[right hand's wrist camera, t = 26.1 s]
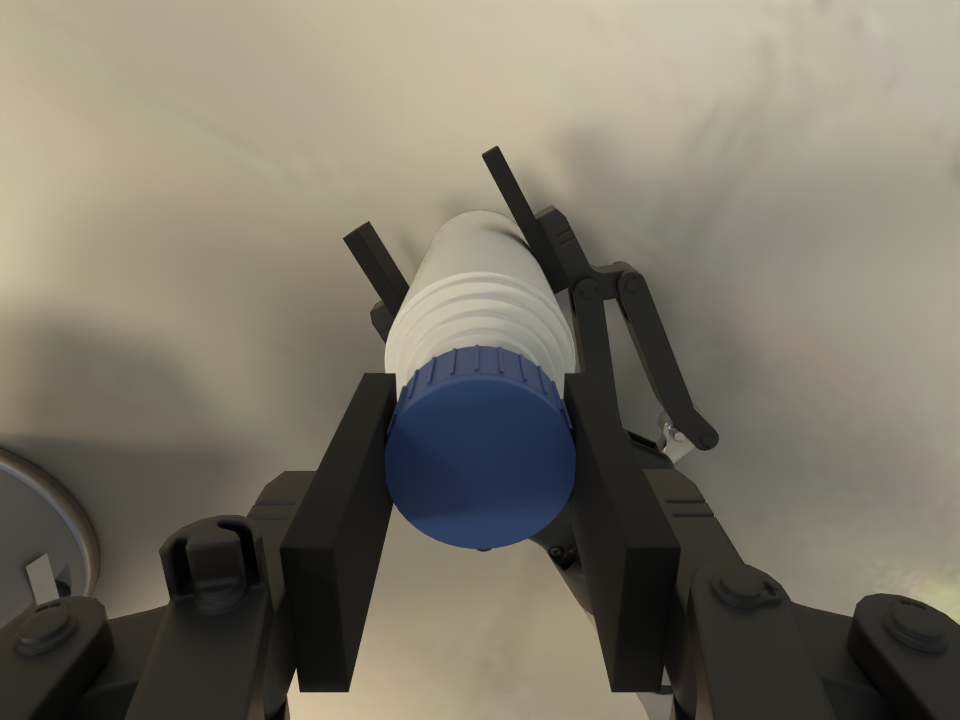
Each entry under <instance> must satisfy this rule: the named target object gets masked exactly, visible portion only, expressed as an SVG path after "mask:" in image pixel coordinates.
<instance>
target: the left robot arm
mask: <svg viewBox="0 0 960 720" xmlns="http://www.w3.org/2000/svg"><path fill="white" fill-rule="evenodd" d="M482 157H483V159H484V161H485V163H486V165H487V167H488V169H489V171H490V172H491V174H492V176H493V178H494V180H495V182H496V184H497V186H498V188H499V190H500V191H501V193H502V195H503V197H504V199H505V201H506V203H507V205H508V207H509V208H510V210H511V212H512V214H513V216H514V218H515V220H516V222H517V224H518V226H519V227H520V229H521V231H522V233H523V235H524V237H525V239H526V241H527V243H528V245H529V246H530V248H531V250H532V252H533V254H534V256H535V258H536V260H537V262H538V263H539V265H540V267H541V269H542V271H543V273H544V275H545V277H546V279H547V281H548V282H549V284H550V286H551V288H552V290H553V292H554V294H556V293H558V292H560V291H562V290H564V289H566V288H567V287H568V293H569V300H570V306H571V312H572V319H573V325H574V331H575V338H576V344H577V350H578V356H579V363H580V369H581V373H596V375H597V377H598V379H599V381H600V383H601V385H602V387H603V389H604V391H605V393H606V395H607V397H608V399H609V401H610V403H611V405H612V407H613V409H614V412H615V414H616V416H617V418H618V420H619V422H620V424H621V420H620V417H619V412H618V405H617V398H616V390H615V383H614V376H613V369H612V362H611V354H610V347H609V340H608V333H607V325H606V318H605V311H604V304H603V300H607V299H614V298H616V301H617V303H618V306H619V308H620V311H621V313H622V315H623V318H624V320H625V323H626V325H627V328H628V330H629V333H630V335H631V338H632V340H633V343H634V345H635V347H636V350H637V352H638V355H639V357H640V360H641V362H642V365H643V367H644V370H645V372H646V375H647V377H648V379H649V382H650V384H651V387H652V389H653V392H654V394H655V396H656V398H657V399H658V401H659V402H660V404H661V405H662V407H663V408H664V410H665V411H663V412H662V413H661V414H660V417H659V419H658V426H659V428H660V430H661V438H660V440H659V441H658V442H657V443H656V442H653V441H651V440H649V439H646V438H644V437H642V436H639V435H637V434H635V433H632V432H630V431H628V430H626V429H623V430H624V432H625V434H626V436H627V438H628V440H629V442H630V444H631V446H632V448H633V450H634V452H635V454H636V456H637V459H638V461H639V463H640V465H641V467H642V469H675V468H674V464H675V463H676V462H677V461H678V460H680V459H681V458H682V457H683V456H685V455H686V454H687V453H688V452H690V451H691V450H692V449H693V448H695V447H697V448H698V449H700V450H704V451H705V450H710V449H712V448H714V447H715V446H716V445H717V443H718V441H719V435H718V433H717V432H716V430H715V429H714V428H713V427H712V426H711V424H710V423H709V422H708V421H707V419H706V418H705V417H704V416H703V414H702V413H701V412H700V411H699V409H698V408H697V407H696V406H695V405H694V404H693V403H692V401H691V399H690V396H689V393H688V391H687V388H686V386H685V383H684V380H683V378H682V375H681V373H680V370H679V367H678V365H677V362H676V360H675V357H674V354H673V352H672V349H671V347H670V344H669V341H668V339H667V336H666V334H665V331H664V328H663V326H662V323H661V321H660V318H659V315H658V313H657V310H656V308H655V305H654V302H653V300H652V297H651V295H650V292H649V289H648V287H647V284H646V282H645V279H644V278H643V276H642V275H641V274H640V273H639V272H637V271H636V270H635V269H634V268H633V267H631V266H630V265H629V264H628V263H626V262H623V261H618V262H615V263H613V264H612V265H608V266H601V267H596V266H592V265H590V264H589V263H588V261H587V259H586V257H585V255H584V253H583V251H582V249H581V247H580V245H579V243H578V241H577V239H576V237H575V235H574V233H573V231H572V229H571V227H570V225H569V223H568V221H567V219H566V217H565V216H564V215H563V214H562V213H561V212H560V211H558V210H557V209H556V208H555V207H554V206H553V205H551V206H550V207H548V208H546V209H544V210H542V211H541V212H539V213H537V214H535V215H533V213H532V211H531V209H530V207H529V205H528V203H527V201H526V199H525V197H524V195H523V193H522V191H521V189H520V188H519V186H518V184H517V182H516V180H515V178H514V176H513V174H512V172H511V170H510V168H509V166H508V164H507V162H506V160H505V158H504V156H503V155H502V153H501V151H500V149H499V147H498V146H495V147H494V148H492V149H490V150H488V151H487V152H485V153H483V154H482ZM343 240H344V241H345V243H346V244H347V246H348V247H349V249H350V251H351V252H352V254H353V255H354V257H355V258H356V260H357V262H358V263H359V265H360V266H361V268H362V269H363V271H364V273H365V274H366V276H367V277H368V279H369V281H370V282H371V284H372V285H373V287H374V288H375V290H376V292H377V293H378V295H379V296H380V298H381V299H382V301H380V302H378V303H377V304H375V305H374V307H373V309H372V310H371V312H370V314H371V319H372V324H373V325H374V327H375V328H376V330H377V331H378V333H379V334H380V336H381V338H382V339H383V341H384V342H385V344H386V343H387V339H388V335H389V332H390V330H391V327H392V325H393V323H394V320H395V318H396V316H397V314H398V312H399V310H400V308H401V305H402V303H403V301H404V299H405V297H406V295H407V293H408V290H409V288H410V287H409V285H408V284H407V282H406V281H405V279H404V277H403V276H402V274H401V272H400V271H399V269H398V268H397V266H396V264H395V263H394V261H393V259H392V258H391V256H390V254H389V253H388V251H387V250H386V248H385V246H384V245H383V243H382V241H381V240H380V238H379V237H378V235H377V233H376V232H375V230H374V228H373V227H372V225H371V224H370V222H369V221H368V222H367V223H365V224H363V225H362V226H360V227H358V228H357V229H355V230H354V231H352V232H351V233H350V234H348V235H347V236H345V237H344V238H343ZM621 426H622V424H621ZM529 539H530V540H532V541H534V542H536V543H537V544H539V545H540V546H542V547H543V548H544V549H545V550H546V552H547V553H548V555H549V557H550V558H551V560H552V562H553V563H554V565H555V566H556V568H557V569H558V571H559V573H560V574H561V576H562V577H563V579H564V581H565V582H566V584H567V585H568V587H569V588H570V590H571V592H572V593H573V595H574V596H575V598H576V599H577V601H578V602H579V604H580V605H581V606H582V607H583V608H584V611H585V613H586V615H587V617H588V619H589V620H590V622H591V624H592V625H593V627H594V628H595V630H596V631H597V628H596V623H595V619H594V615H593V611H592V606H591V602H590V598H589V594H588V590H587V585H586V581H585V577H584V573H583V568H582V564H581V560H580V556H579V552H578V547H577V543H576V539H575V535H574V530H573V526H572V522H571V518H570V514H569V509H568V505H567V503H566V504H565V506H564V508H563V509H562V510H561V511H560V513H559V514H558V515H557V517H556V518H555V519H554V520H552V521H551V522H550V523H549V524H548V525H547V526H546V527H544V528H543V529H542V530H540V531H539V532H538V533H536V534H534V535H532V536H531V537H529ZM491 549H492V548H489V549H477V550H478V551H482V552H483V551H489V550H491ZM98 572H99V551H98V545H97V541H96V538H95V535H94V532H93V529H92V527H91V525H90V523H89V521H88V519H87V517H86V516H85V514H84V512H83V511H82V509H81V508H80V507H79V505H78V504H77V503H76V501H75V500H74V499H73V498H72V497H71V495H70V494H69V493H68V492H67V491H66V490H65V489H64V488H63V487H62V486H61V485H60V484H59V483H57V482H56V481H55V480H54V479H53V478H51V477H50V476H49V475H48V474H46V473H45V472H43V471H42V470H41V469H39V468H38V467H36V466H34V465H33V464H31V463H29V462H28V461H26V460H24V459H22V458H20V457H18V456H16V455H14V454H11V453H9V452H7V451H4V450H1V449H0V629H1V628H2V627H3V626H5V625H6V624H7V623H9V622H10V621H11V620H12V619H14V618H15V617H16V616H18V615H20V614H22V613H24V612H26V611H28V610H30V609H32V608H34V607H35V606H37V605H40V604H43V603H46V602H49V601H52V600H56V599H59V598H64V597H73V596H85V597H89V595H90V594H91V592H92V590H93V588H94V586H95V584H96V580H97V577H98ZM597 633H598V632H597ZM673 693H674V691H673V688H672V686H671V683H670V680H669V677H668V674H667V671H666V668H665V666H664V671H663V678H662V685H661V692H636V694H637V696H638V697H639V699H640V701H641V702H642V704H643V706H644V708H645V710H646V713H647V715H648V718H649V720H669V719H670V713H671V706H672V700H673Z"/></svg>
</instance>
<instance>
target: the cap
mask: <svg viewBox="0 0 960 720" xmlns="http://www.w3.org/2000/svg"><path fill="white" fill-rule="evenodd" d="M572 431H574V430H573V427H572V424H571V421H570V418H569V415H568V412H567V408H566V405H565V402H564V399H560V396H559V393H558V390H557V387H556V384H555V382H554V380H553V381H551V380H550V379H549V377H548V376H547V375H546V374H545V373H544V372H543V371H542V368H541V366H540V365H538V366H537V365H535V364H534V363H533V362H532V361H530V360H528V359H527V358H525V357H523V354H521V353H520V354H517V353H514V352H512V351H509V350H506V349H502V347H499V346H498V348H497V347H491V346H479V345H475V346H470V347H463V348H459V349H456V348H453V349H452V350H451V351H449V352H446V353H443V354H441V355H439V356H437V357H435V356H434V357H432V360H430V361H429V362H428V363H426V364H425V365H423V366H422V367H421V368H420V369H419V370H418V369H416V370H415V372H414V375H413V376H412V378H411V379H410V380H409V382H408V383H407V385H406V386H404V385H403V387H402V390H401V393H400V396H399V399H398V402H397V404H396V406H395V409H394V412H393V415H392V418H391V422H390V425H389V428H388V431H387V437H388V438H387V442H386V445H385V449H384V458H385V474H386V486H387V489H388V492H389V494H390V496H391V498H392V500H393V502H394V504H395V505H396V507H397V508H398V510H399V511H400V513H401V514H402V515H403V516H404V517H405V518H406V519H407V520H408V521H409V522H410V523H411V524H412V525H413V526H415V527H416V528H417V529H418V530H420V531H421V532H423V533H424V534H426V535H428V536H430V537H432V538H434V539H436V540H438V541H441V542H443V543H446V544H449V545H453V546H457V547H463V548H470V549H489V548H498V547H503V546H508V545H511V544H514V543H517V542H520V541H522V540H524V539H527V538H529V537H531V536H532V535H534V534H536V533H538V532H539V531H540V530H542V529H543V528H544V527H546V526H547V525H548V524H549V523H550V522H551V521H552V520H554V519H555V518H556V517H557V515H558V514H559V513H560V511H561V510H562V509H563V508H564V506H565V504H566V503H567V501H568V499H569V497H570V495H571V492H572V490H573V488H574V479H575V464H576V447H575V443H574V440H573V436H572V433H571V432H572Z"/></svg>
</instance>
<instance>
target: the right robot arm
mask: <svg viewBox="0 0 960 720" xmlns="http://www.w3.org/2000/svg"><path fill="white" fill-rule="evenodd" d="M563 399H564V402H565V405H566V408H567V412H568V415H569V418H570V421H571V424H572V427H573V430H574V431H572V432H571V433H572V436H573V440H574V443H575V447H576V464H575V479H574V488H573V490H572V492H571V495H570V497H569V499H568V501H567V505H568V509H569V514H570V518H571V522H572V526H573V530H574V535H575V539H576V543H577V547H578V552H579V556H580V560H581V564H582V568H583V573H584V577H585V581H586V585H587V590H588V594H589V598H590V602H591V606H592V611H593V615H594V619H595V623H596V628H597V632H598V636H599V640H600V644H601V649H602V653H603V657H604V661H605V666H606V670H607V674H608V678H609V682H610V687H611V691H612V692H661V685H662V678H663V671H664V666H665V668H666V671H667V674H668V677H669V680H670V683H671V686H672V688H673V691H674V693H673V700H672V706H671V713H670V719H669V720H960V625H959V624H957V623H956V622H955V621H954V620H952V619H951V618H950V617H948V616H947V615H946V614H944V613H942V612H940V611H938V610H936V609H935V608H933V607H931V606H929V605H927V604H925V603H923V602H920V601H917V600H913V599H911V598H907V597H904V596H901V595H892V594H883V593H880V594H874V595H869V596H865V597H864V598H863V599H862V600H861V601H860V602H858V603H857V605H856V608H855V612H854V615H853V617H849V616H844V615H840V614H836V613H831V612H827V611H822V610H818V609H814V608H810V607H806V606H803V605H800V604H796V603H794V602H791V600H790V598H789V596H788V595H787V593H786V592H785V590H784V589H783V587H782V585H780V584H779V583H778V582H777V581H775V580H774V579H773V578H772V577H771V576H769V575H768V574H767V573H765V572H762V571H760V570H758V569H756V568H754V567H752V566H750V565H746V564H744V562H743V560H742V559H741V557H740V556H739V554H738V552H737V551H736V549H735V548H734V546H733V544H732V543H731V541H730V539H729V538H728V536H727V535H726V533H725V531H724V530H723V528H722V527H721V525H720V523H719V522H718V520H717V518H714V514H713V512H712V510H711V509H710V507H709V506H708V504H707V503H705V499H704V498H703V496H702V494H701V493H700V491H699V489H698V488H697V486H696V485H695V483H693V482H692V481H691V480H689V479H688V478H687V477H685V476H684V475H683V474H681V473H680V472H679V471H677V470H676V469H642V467H641V465H640V463H639V461H638V459H637V456H636V454H635V452H634V450H633V448H632V446H631V444H630V442H629V440H628V438H627V436H626V434H625V432H624V430H623V428H622V426H621V424H620V422H619V420H618V418H617V416H616V414H615V412H614V409H613V407H612V405H611V403H610V401H609V399H608V397H607V395H606V393H605V391H604V389H603V387H602V385H601V383H600V381H599V379H598V377H597V375H596V373H565V375H564V394H563ZM396 404H397V387H396V373H365V374H364V376H363V378H362V380H361V382H360V384H359V386H358V388H357V390H356V392H355V394H354V396H353V398H352V400H351V402H350V404H349V406H348V408H347V410H346V412H345V414H344V416H343V418H342V421H341V423H340V425H339V427H338V429H337V431H336V433H335V435H334V437H333V439H332V441H331V443H330V445H329V447H328V449H327V451H326V453H325V455H324V457H323V459H322V461H321V463H320V465H319V467H318V470H317V471H285V472H283V473H282V474H281V475H279V476H278V477H276V478H275V479H274V480H272V481H271V482H270V483H268V484H267V485H266V486H265V488H264V489H263V491H262V492H261V494H260V496H259V497H258V499H257V501H256V504H255V505H253V507H252V509H251V510H250V512H249V514H248V515H247V518H246V517H243V516H239V515H220V516H216V517H211V518H206V519H202V520H199V521H197V522H195V523H192V524H190V525H188V526H185V527H183V528H182V529H180V530H179V531H177V532H176V533H175V534H173V535H172V536H170V537H169V538H168V539H167V540H166V542H165V543H164V544H163V545H162V547H161V548H160V549H159V552H160V557H161V561H162V565H163V570H164V574H165V578H166V583H167V587H168V591H169V596H170V601H169V603H168V605H166V606H162V607H159V608H156V609H152V610H149V611H144V612H140V613H136V614H131V615H127V616H122V617H118V618H114V619H109V620H108V617H107V614H106V610H105V607H104V606H103V605H102V604H101V603H100V602H99V601H98V600H97V599H95V598H90V597H85V596H73V597H64V598H59V599H56V600H52V601H49V602H46V603H43V604H40V605H37V606H35V607H34V608H32V609H30V610H28V611H26V612H24V613H22V614H20V615H18V616H16V617H15V618H14V619H12V620H11V621H10V622H9V623H7V624H6V625H5V626H3V627H2V628H1V629H0V720H290V713H289V706H288V700H287V693H288V690H289V687H290V684H291V681H292V678H293V675H294V672H295V670H296V668H297V675H298V682H299V689H300V692H349V688H350V684H351V680H352V676H353V671H354V667H355V663H356V659H357V654H358V650H359V646H360V642H361V638H362V633H363V629H364V625H365V621H366V616H367V612H368V608H369V604H370V600H371V595H372V591H373V587H374V583H375V578H376V574H377V570H378V566H379V562H380V557H381V553H382V549H383V545H384V540H385V536H386V532H387V528H388V524H389V519H390V515H391V511H392V507H393V500H392V498H391V496H390V494H389V492H388V489H387V486H386V474H385V458H384V449H385V445H386V442H387V438H388V437H387V431H388V428H389V425H390V422H391V418H392V415H393V412H394V409H395V406H396Z"/></svg>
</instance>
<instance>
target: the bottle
mask: <svg viewBox="0 0 960 720" xmlns="http://www.w3.org/2000/svg"><path fill="white" fill-rule="evenodd" d="M475 345H479V346H491V347H497V348H498V346H499V347H502V349H506V350H509V351H512V352H514V353H517V354H520V353H521V354H523V357H525V358H527V359H528V360H530V361H532V362H533V363H534V364H535V365H537V366H538V365H540V366H541V368H542V371H543V372H544V373H545V374H546V375H547V376H548V377H549V379H550V380H551V381H553V380H554V382H555V384H556V387H557V390H558V393H559V396H560V399H563V394H564V375H565V373H575V366H576V357H575V347H574V341H573V338H572V335H571V332H570V329H569V326H568V324H567V322H566V320H565V318H564V316H563V314H562V312H561V309H560V307H559V305H558V303H557V301H556V299H555V297H554V294H553V292H552V290H551V288H550V286H549V284H548V282H547V280H546V277H545V275H544V273H543V271H542V269H541V267H540V265H539V263H538V262H537V260H536V258H535V256H534V254H533V252H532V250H531V248H530V246H529V245H528V243H527V241H526V239H525V237H524V235H523V233H522V231H521V229H520V228H519V227H518V226H517V225H516V224H515V223H514V222H513V221H512V220H510V219H508V218H507V217H505V216H503V215H501V214H498V213H495V212H491V211H485V210H476V211H469V212H465V213H462V214H459V215H457V216H455V217H453V218H451V219H450V220H449V221H447V222H446V223H445V224H444V225H443V226H442V227H441V228H440V229H439V230H438V231H437V233H436V234H435V236H434V237H433V239H432V241H431V243H430V246H429V248H428V250H427V252H426V254H425V256H424V258H423V261H422V263H421V265H420V267H419V269H418V271H417V273H416V276H415V278H414V280H413V282H412V284H411V286H410V288H409V290H408V293H407V295H406V297H405V299H404V301H403V303H402V305H401V308H400V310H399V312H398V314H397V316H396V318H395V320H394V323H393V325H392V327H391V330H390V332H389V335H388V339H387V343H386V348H385V372H386V373H396V387H397V402H398V399H399V396H400V393H401V390H402V387H403V385H404V386H406V385H407V383H408V382H409V380H410V379H411V378H412V376H413V375H414V372H415V370H416V369H418V370H419V369H420V368H421V367H422V366H423V365H425V364H426V363H428V362H429V361H430V360H432V357H434V356H435V357H437V356H439V355H441V354H443V353H446V352H449V351H451V350H452V349H453V348H456V349H459V348H463V347H470V346H475Z"/></svg>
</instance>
